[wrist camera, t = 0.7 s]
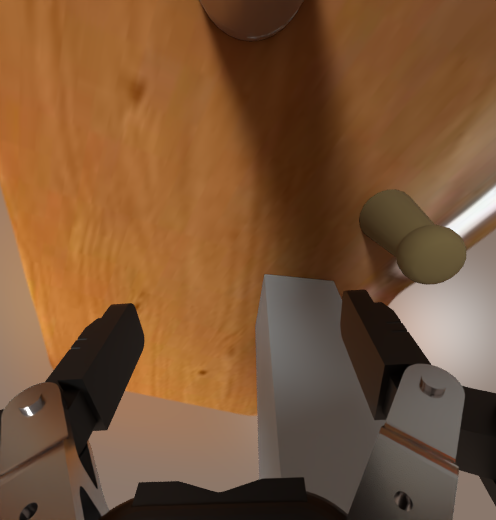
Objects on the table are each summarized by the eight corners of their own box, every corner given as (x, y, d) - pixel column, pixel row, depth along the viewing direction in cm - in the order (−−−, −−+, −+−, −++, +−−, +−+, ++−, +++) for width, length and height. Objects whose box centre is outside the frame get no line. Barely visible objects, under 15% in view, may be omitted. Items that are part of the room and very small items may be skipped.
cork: (390, 246, 35) (443, 304, 26) (348, 227, 34) (387, 280, 24) (425, 203, 32) (498, 249, 23) (381, 180, 31) (439, 219, 22)
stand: (263, 272, 37) (302, 808, 9) (335, 279, 38) (576, 808, 10) (253, 327, 42) (262, 794, 14) (318, 333, 42) (449, 795, 15)
